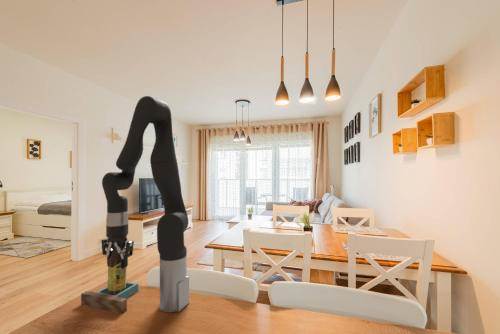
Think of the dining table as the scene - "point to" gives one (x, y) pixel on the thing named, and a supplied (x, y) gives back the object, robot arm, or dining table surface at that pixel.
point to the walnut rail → (104, 302)
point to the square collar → (130, 290)
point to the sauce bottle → (116, 273)
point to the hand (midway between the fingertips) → (117, 266)
